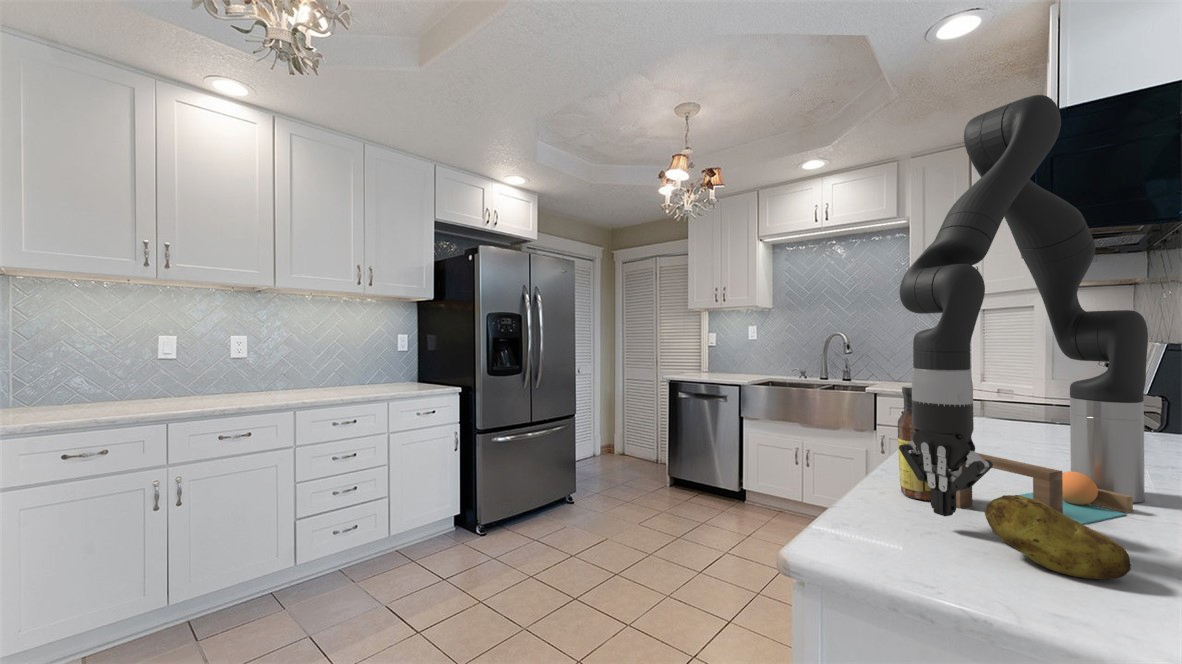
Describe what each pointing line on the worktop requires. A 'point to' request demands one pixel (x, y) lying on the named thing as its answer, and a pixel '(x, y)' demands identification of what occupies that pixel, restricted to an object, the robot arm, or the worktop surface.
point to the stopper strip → (1114, 501)
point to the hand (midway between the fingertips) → (943, 514)
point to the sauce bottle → (907, 476)
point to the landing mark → (1084, 512)
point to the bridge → (1044, 479)
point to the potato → (1055, 539)
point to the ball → (1078, 488)
